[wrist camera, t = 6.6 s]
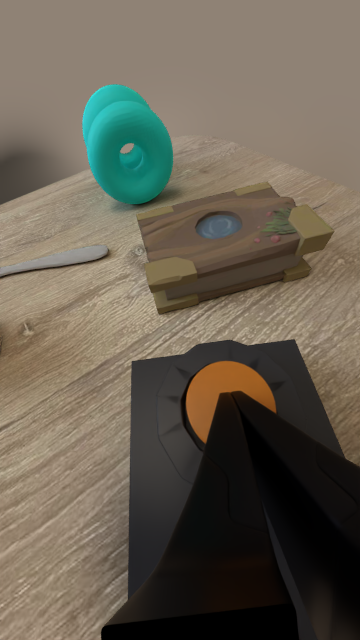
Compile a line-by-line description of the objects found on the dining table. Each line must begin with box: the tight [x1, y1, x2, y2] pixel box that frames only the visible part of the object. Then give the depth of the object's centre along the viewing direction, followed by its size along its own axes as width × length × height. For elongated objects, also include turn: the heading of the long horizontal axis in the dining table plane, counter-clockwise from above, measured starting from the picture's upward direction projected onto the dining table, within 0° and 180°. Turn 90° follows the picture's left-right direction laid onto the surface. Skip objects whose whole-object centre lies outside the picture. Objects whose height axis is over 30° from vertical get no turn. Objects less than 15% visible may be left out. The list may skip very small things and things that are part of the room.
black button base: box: [128, 339, 345, 640], centre depth 11 cm, size 11×10×6 cm
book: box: [136, 182, 334, 314], centre depth 20 cm, size 15×11×5 cm
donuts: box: [82, 84, 173, 204], centre depth 27 cm, size 10×10×10 cm
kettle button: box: [186, 361, 276, 444], centre depth 10 cm, size 4×4×2 cm
